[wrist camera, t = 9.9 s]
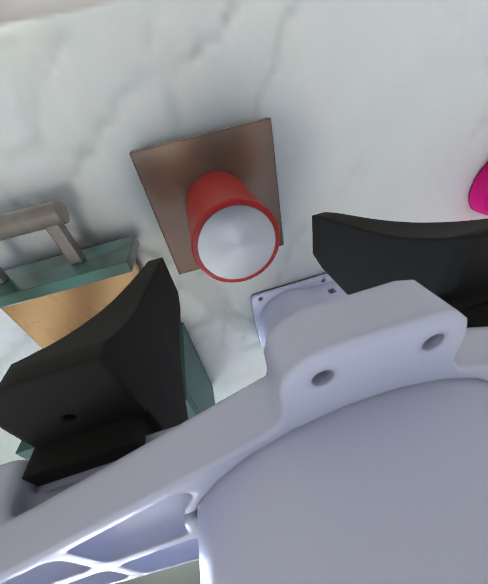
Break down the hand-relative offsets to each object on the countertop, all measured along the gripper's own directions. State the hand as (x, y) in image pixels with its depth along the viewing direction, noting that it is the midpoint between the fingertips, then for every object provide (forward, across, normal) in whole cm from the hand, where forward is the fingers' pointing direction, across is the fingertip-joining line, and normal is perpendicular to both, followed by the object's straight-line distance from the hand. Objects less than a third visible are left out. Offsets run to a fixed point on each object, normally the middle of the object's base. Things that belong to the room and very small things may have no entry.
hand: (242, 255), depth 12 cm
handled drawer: (+9, +13, +5) cm, 17 cm away
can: (+8, 0, 0) cm, 8 cm away
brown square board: (+10, 0, 0) cm, 10 cm away
